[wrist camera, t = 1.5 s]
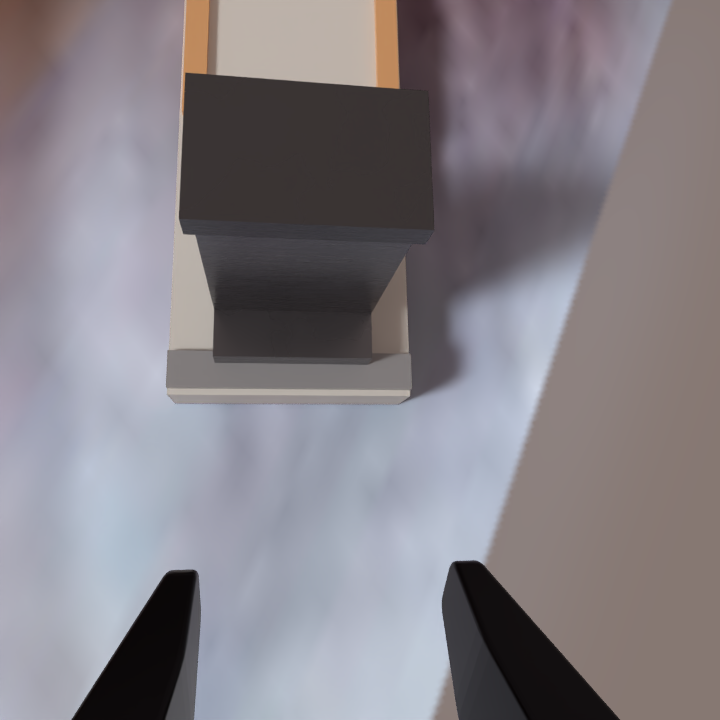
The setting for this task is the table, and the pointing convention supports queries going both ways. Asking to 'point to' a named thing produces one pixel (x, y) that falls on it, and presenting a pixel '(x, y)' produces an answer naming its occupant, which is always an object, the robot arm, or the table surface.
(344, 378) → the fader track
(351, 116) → the fader knob
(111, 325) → the table surface
